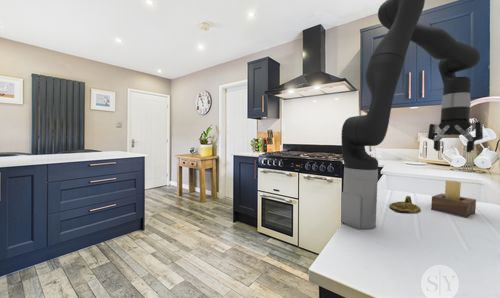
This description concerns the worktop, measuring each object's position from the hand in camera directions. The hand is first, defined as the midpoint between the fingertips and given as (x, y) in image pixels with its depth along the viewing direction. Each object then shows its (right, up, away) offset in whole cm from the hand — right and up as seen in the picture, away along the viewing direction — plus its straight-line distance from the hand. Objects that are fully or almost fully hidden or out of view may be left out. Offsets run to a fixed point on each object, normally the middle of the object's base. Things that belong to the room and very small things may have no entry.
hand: (452, 151), depth 77 cm
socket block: (+1, -22, +1) cm, 22 cm away
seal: (-15, -23, +3) cm, 27 cm away
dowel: (+1, -21, +1) cm, 21 cm away
